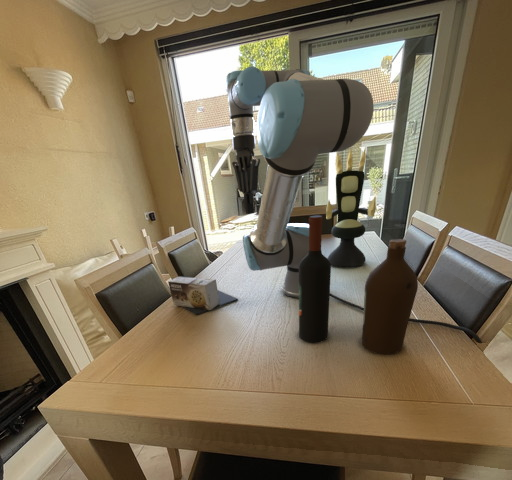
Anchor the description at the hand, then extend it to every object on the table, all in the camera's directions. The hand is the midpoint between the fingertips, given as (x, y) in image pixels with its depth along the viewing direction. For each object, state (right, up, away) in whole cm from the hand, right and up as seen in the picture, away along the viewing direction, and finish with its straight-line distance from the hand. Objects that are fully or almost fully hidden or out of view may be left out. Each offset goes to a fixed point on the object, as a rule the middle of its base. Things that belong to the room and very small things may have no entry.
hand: (250, 213), depth 107 cm
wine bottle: (+18, -46, -29) cm, 57 cm away
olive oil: (+33, -48, -35) cm, 68 cm away
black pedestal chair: (+43, -11, +27) cm, 52 cm away
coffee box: (-12, -32, -10) cm, 35 cm away
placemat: (-15, -33, -2) cm, 36 cm away
